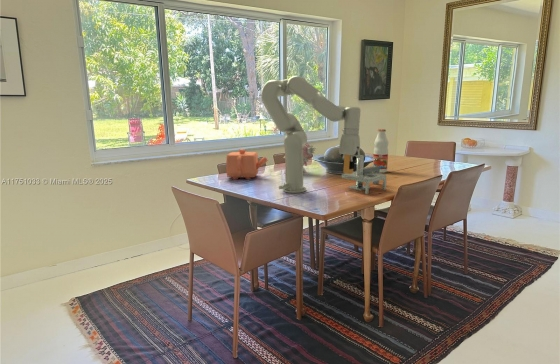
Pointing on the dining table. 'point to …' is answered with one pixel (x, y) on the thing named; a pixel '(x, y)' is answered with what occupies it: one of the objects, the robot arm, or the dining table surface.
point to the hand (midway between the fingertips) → (348, 167)
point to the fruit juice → (381, 151)
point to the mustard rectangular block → (347, 164)
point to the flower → (306, 153)
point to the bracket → (372, 169)
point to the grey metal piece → (364, 177)
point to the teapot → (243, 164)
